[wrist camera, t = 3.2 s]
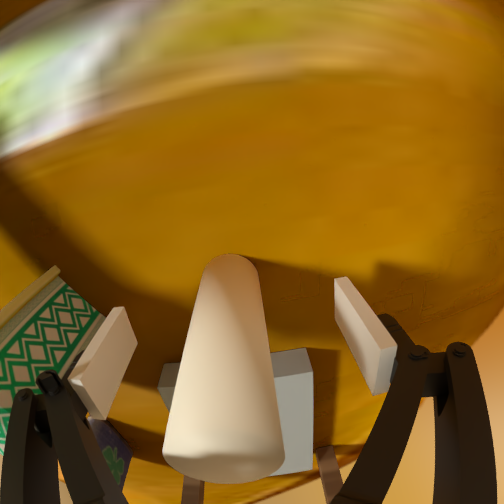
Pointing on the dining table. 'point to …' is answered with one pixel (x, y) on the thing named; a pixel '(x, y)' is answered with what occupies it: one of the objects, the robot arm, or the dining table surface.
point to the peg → (226, 383)
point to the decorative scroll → (41, 337)
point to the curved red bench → (327, 468)
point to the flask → (112, 448)
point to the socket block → (289, 404)
